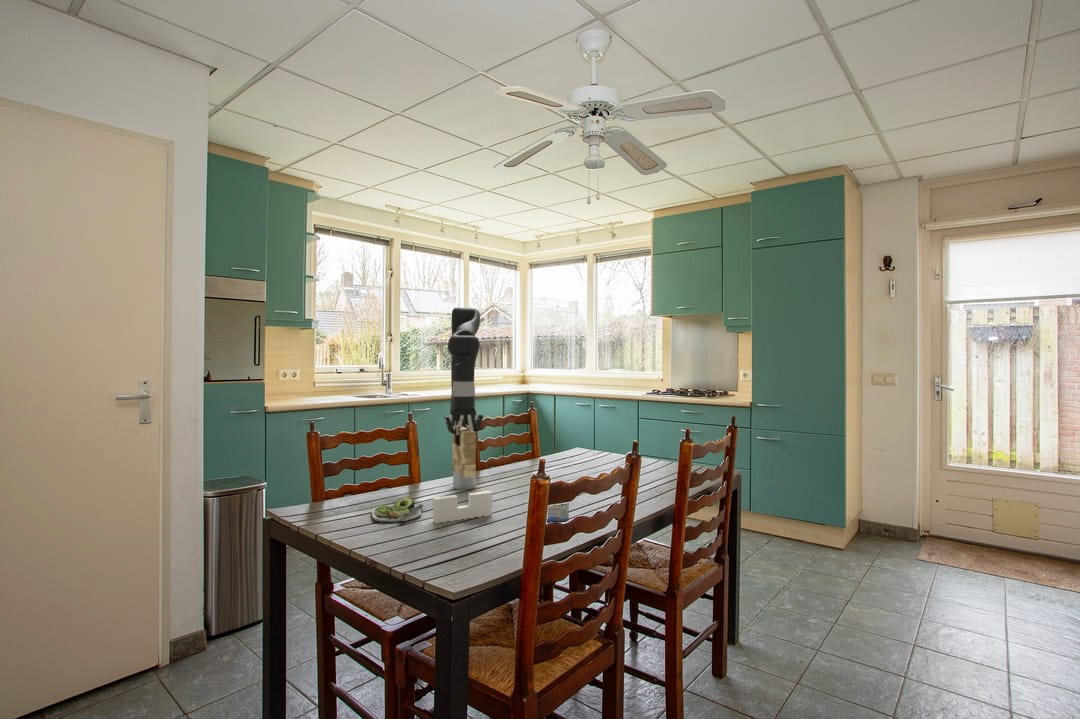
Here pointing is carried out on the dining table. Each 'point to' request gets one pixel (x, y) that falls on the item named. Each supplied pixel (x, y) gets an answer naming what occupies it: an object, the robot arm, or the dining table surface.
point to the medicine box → (558, 513)
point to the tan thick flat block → (465, 453)
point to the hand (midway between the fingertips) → (463, 444)
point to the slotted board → (462, 507)
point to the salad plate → (398, 511)
